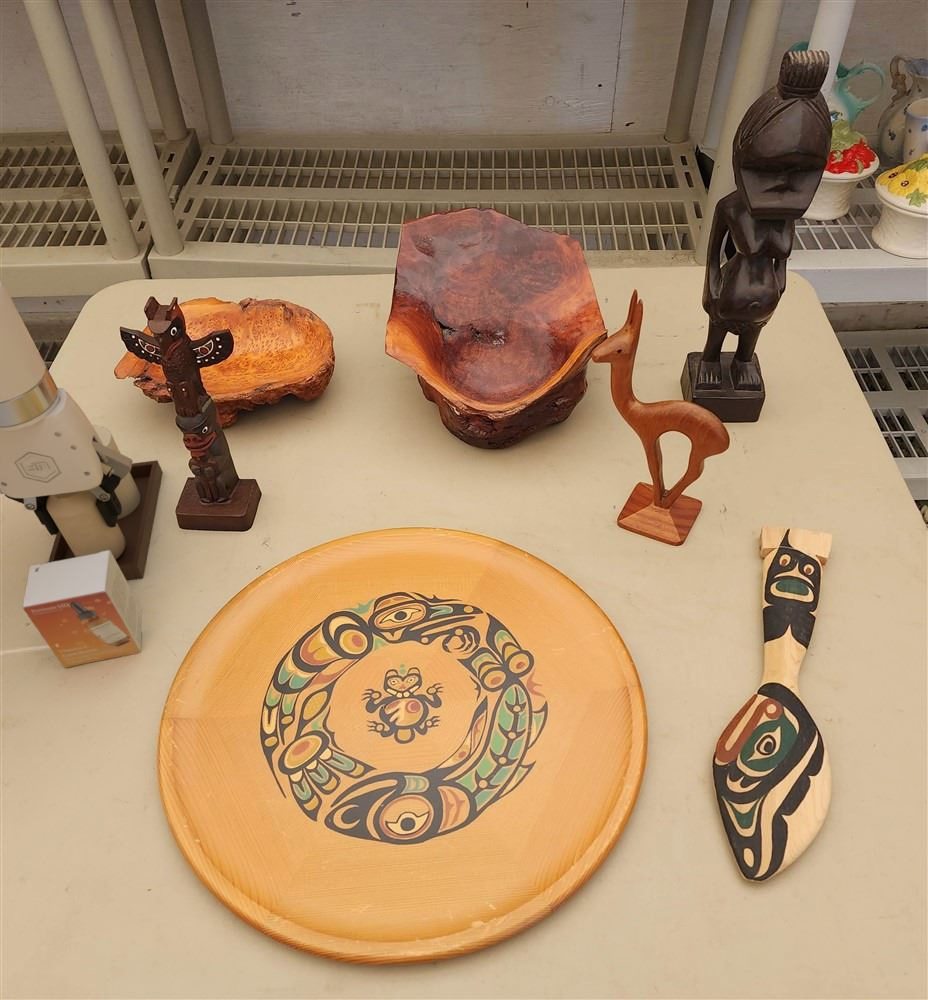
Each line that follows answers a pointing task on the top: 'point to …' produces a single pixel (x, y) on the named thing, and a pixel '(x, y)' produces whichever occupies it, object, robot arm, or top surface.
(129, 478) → the pillar
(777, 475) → the top surface
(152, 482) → the tray
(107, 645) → the small box
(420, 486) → the top surface
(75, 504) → the candle
